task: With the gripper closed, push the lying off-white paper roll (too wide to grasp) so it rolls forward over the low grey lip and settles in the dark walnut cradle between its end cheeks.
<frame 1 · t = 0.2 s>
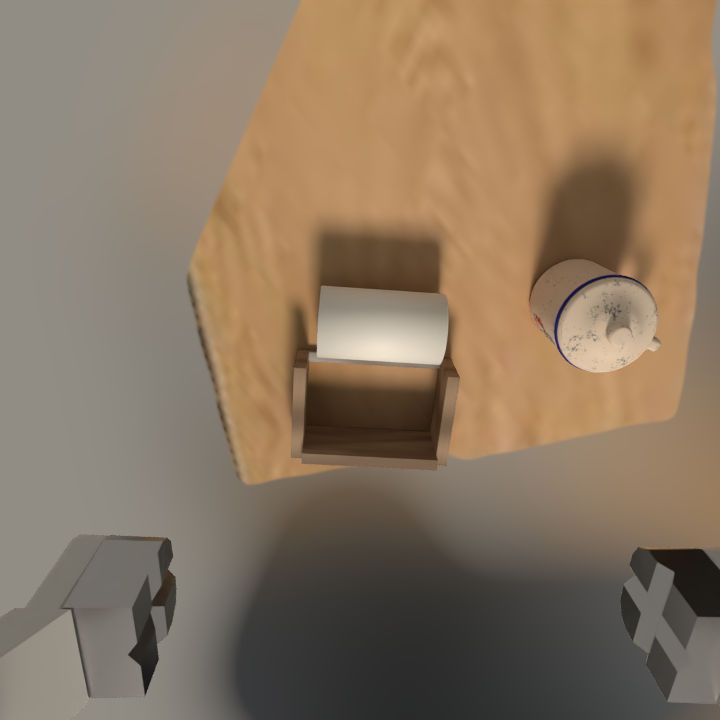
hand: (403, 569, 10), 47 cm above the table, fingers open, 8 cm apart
cradle: (371, 397, 61), on the table
teacup with lid: (580, 304, 57), on the table
roll: (380, 325, 54), point 3 cm above the table
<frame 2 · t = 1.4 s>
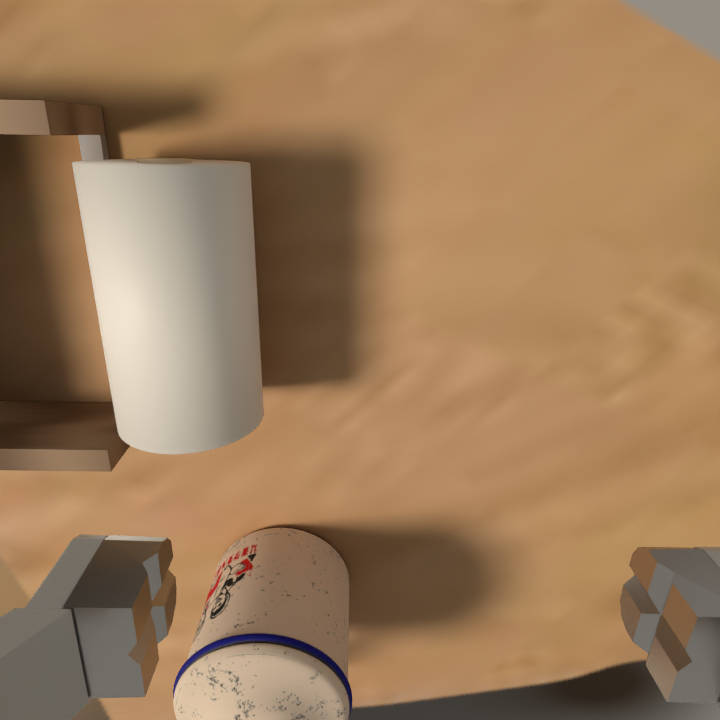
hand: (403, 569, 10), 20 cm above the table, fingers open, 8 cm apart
cradle: (27, 279, 28), on the table
teacup with lid: (277, 591, 37), on the table
roll: (180, 301, 25), point 3 cm above the table, tilted 11°
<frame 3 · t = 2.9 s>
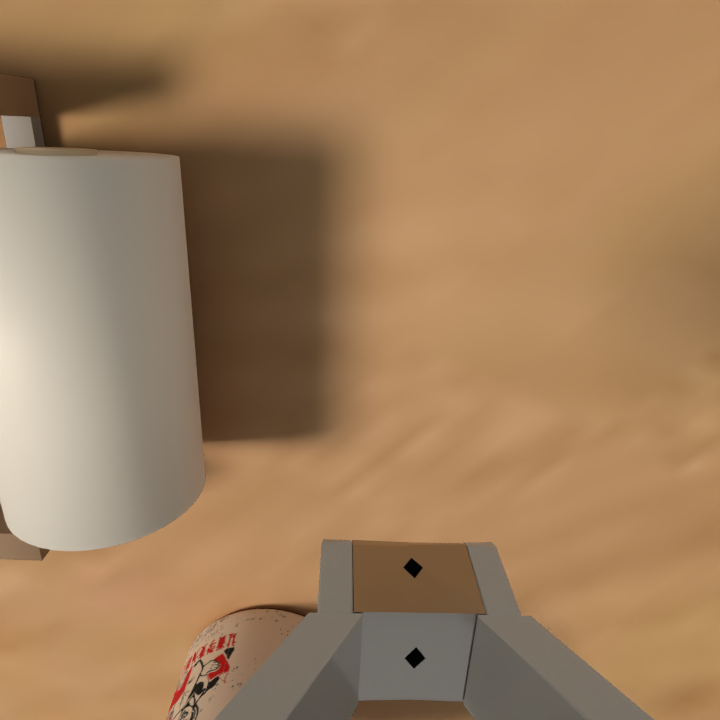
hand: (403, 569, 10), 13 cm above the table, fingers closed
teacup with lid: (261, 678, 30), on the table
roll: (87, 340, 19), point 3 cm above the table, tilted 37°
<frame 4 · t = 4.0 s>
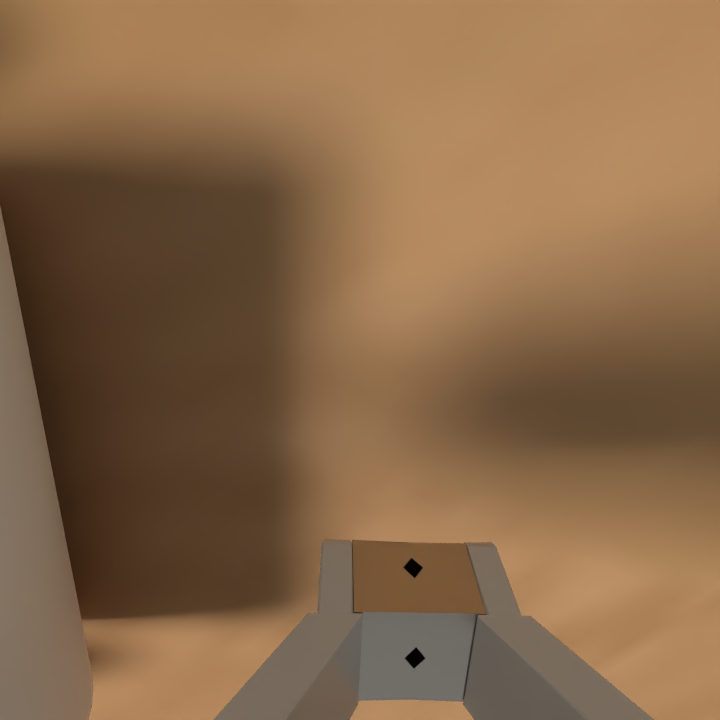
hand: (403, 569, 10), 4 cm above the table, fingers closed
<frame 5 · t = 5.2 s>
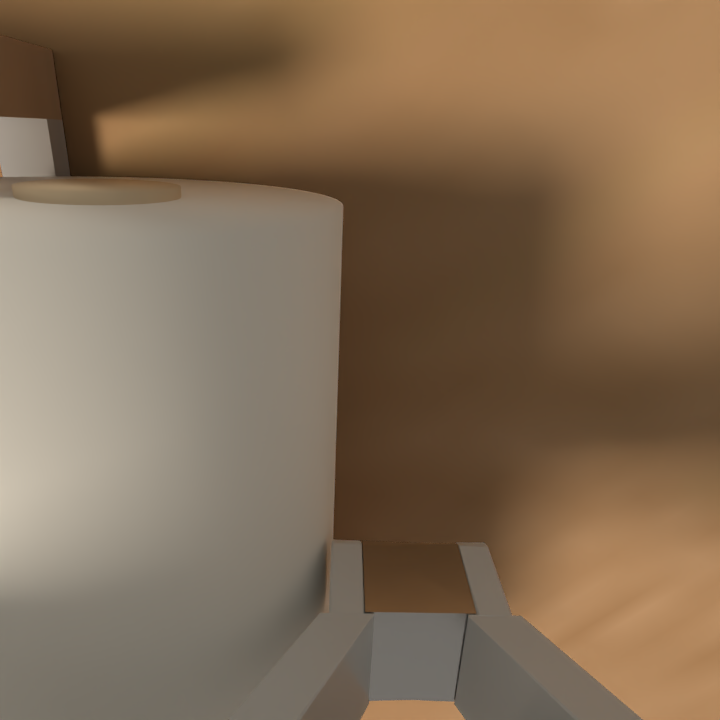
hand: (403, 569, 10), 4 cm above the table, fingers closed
roll: (144, 530, 10), point 3 cm above the table, tilted 37°, touching cradle, gripper
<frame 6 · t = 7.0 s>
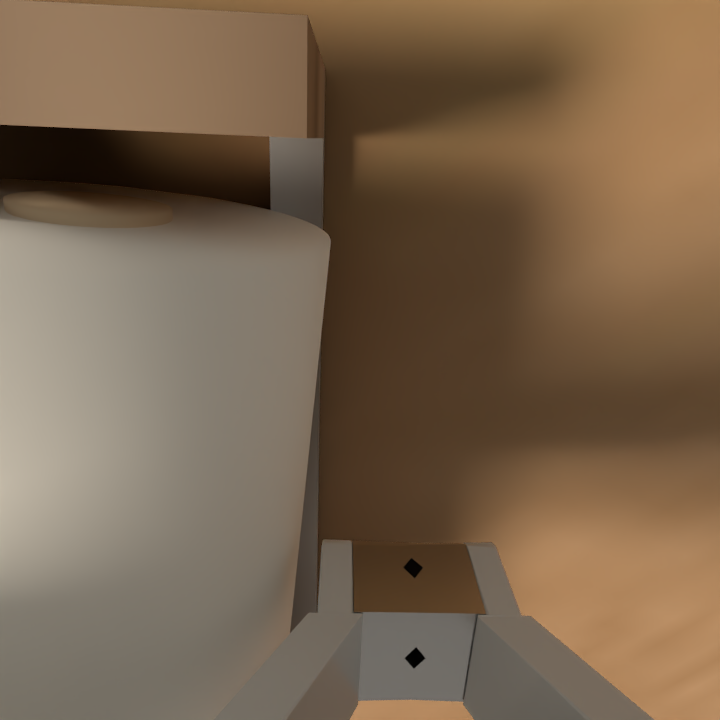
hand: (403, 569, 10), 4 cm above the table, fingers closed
cradle: (107, 440, 13), on the table
roll: (110, 540, 10), point 3 cm above the table, tilted 149°
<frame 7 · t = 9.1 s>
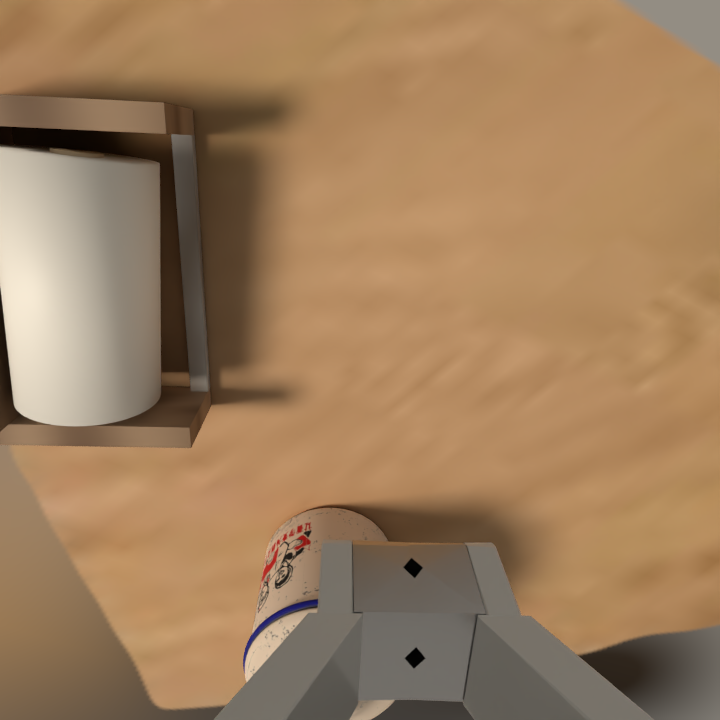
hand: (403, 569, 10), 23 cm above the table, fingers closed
cradle: (108, 268, 30), on the table
teacup with lid: (321, 569, 39), on the table
roll: (84, 284, 27), point 3 cm above the table, tilted 170°
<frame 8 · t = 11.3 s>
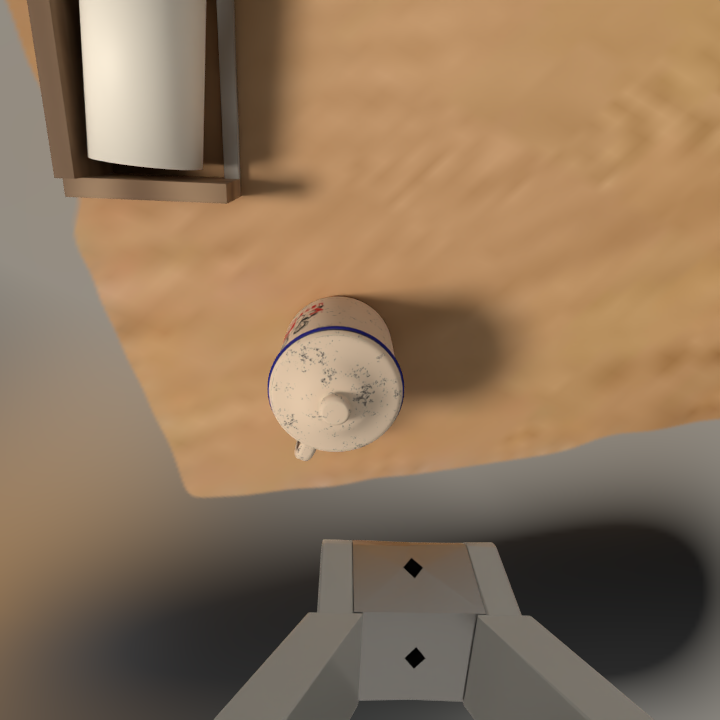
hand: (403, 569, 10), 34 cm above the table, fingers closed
cradle: (159, 65, 37), on the table
teacup with lid: (331, 361, 45), on the table
roll: (145, 59, 34), point 3 cm above the table, tilted 168°
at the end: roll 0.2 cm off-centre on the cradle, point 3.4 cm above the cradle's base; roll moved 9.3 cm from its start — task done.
